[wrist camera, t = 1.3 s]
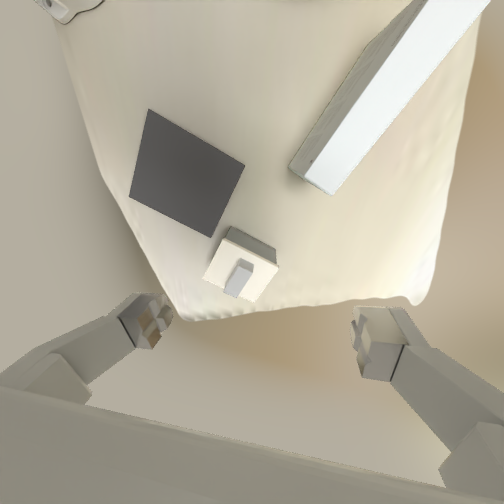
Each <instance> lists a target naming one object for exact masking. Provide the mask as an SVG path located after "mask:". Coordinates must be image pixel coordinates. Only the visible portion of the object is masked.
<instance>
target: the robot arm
mask: <svg viewBox="0 0 504 504" xmlns="http://www.w3.org/2000/svg"><path fill="white" fill-rule="evenodd" d="M34 1H35V2H37V3H38V4H39V5H40V6H41V7H42V8H43V9H45V10H46V11H47V12H48V13H49V14H50V15H51V16H53V17H54V18H55V19H56V20H58V21H59V22H60V23H62V24H66V23H68V22H69V21H70V20H71V19H72V18H73V17H74V15H75V14H76V13H78V12H81V11H85V10H89V9H92V8H94V7H96V6H97V5H98V4H99V3H100V2H101V1H102V0H34ZM51 3H52V6H51ZM167 303H168V299H167V297H166V295H163V294H155V293H140V292H135V293H132V294H131V295H130V296H129V297H128V298H126V299H125V300H124V301H123V302H122V303H121V304H120V305H118V306H117V307H116V308H115V309H114V310H112V311H111V312H110V313H109V314H108V315H107V316H102V317H100V318H98V319H96V320H94V321H92V322H89V323H88V324H85V325H83V326H81V327H79V328H77V329H74V330H72V331H70V332H68V333H66V334H64V335H62V336H59V337H57V338H55V339H53V340H51V341H49V342H46V343H44V344H42V345H40V346H38V347H36V348H34V349H32V350H31V351H29V352H28V353H27V354H25V355H24V356H23V357H21V358H20V359H19V360H17V361H16V362H15V363H14V364H12V365H11V366H9V367H8V368H7V369H6V370H4V371H3V372H2V373H0V504H504V393H503V392H502V391H500V390H499V389H497V388H496V387H494V386H493V385H491V384H490V383H488V382H486V381H485V380H484V379H482V378H481V377H479V376H478V375H476V374H475V373H473V372H471V371H470V370H469V369H467V368H466V367H464V366H463V365H461V364H460V363H458V362H457V361H455V360H454V359H452V358H451V357H449V356H447V355H446V354H445V353H443V352H442V351H440V350H439V349H437V348H431V347H430V345H429V344H428V343H427V341H426V340H425V338H424V337H423V335H422V334H421V332H420V331H419V329H418V328H417V326H416V325H415V324H414V322H413V321H412V319H411V318H410V316H409V315H408V313H407V312H406V311H405V309H403V308H400V307H375V306H355V307H354V310H353V315H354V318H355V320H353V321H352V322H351V327H350V335H351V341H352V345H353V348H354V349H355V350H356V351H357V352H358V355H357V363H358V365H359V369H360V373H361V376H362V378H367V379H373V380H380V381H386V382H391V383H390V384H391V385H392V386H393V387H394V388H395V389H396V391H397V392H398V393H399V394H400V395H401V396H402V397H403V398H404V400H405V401H406V402H407V403H408V404H409V405H410V406H411V407H412V409H413V410H414V411H415V412H416V413H417V414H418V415H419V416H420V417H421V419H422V420H423V421H424V422H425V423H426V424H427V425H428V426H429V428H430V429H431V430H432V431H433V432H434V433H435V434H436V435H437V436H438V438H439V439H440V440H441V441H442V442H443V443H444V444H445V446H446V447H447V448H448V449H449V450H450V451H451V452H452V453H451V454H450V455H449V456H448V457H447V459H446V460H445V461H444V462H443V463H442V465H441V466H440V468H439V469H438V470H439V472H440V475H441V477H442V479H443V481H444V484H445V486H446V488H444V487H440V486H435V485H431V484H426V483H422V482H417V481H413V480H409V479H405V478H400V477H396V476H391V475H387V474H383V473H378V472H374V471H370V470H366V469H361V468H357V467H353V466H348V465H344V464H339V463H335V462H331V461H326V460H322V459H318V458H314V457H309V456H305V455H300V454H296V453H291V452H287V451H283V450H279V449H275V448H270V447H266V446H261V445H257V444H253V443H248V442H243V441H240V440H235V439H231V438H226V437H222V436H218V435H214V434H209V433H205V432H201V431H196V430H192V429H187V428H183V427H179V426H174V425H170V424H166V423H162V422H157V421H153V420H149V419H144V418H140V417H135V416H131V415H127V414H123V413H118V412H114V411H110V410H105V409H101V408H97V407H92V406H88V405H84V404H85V403H86V402H87V401H88V400H89V398H90V397H91V396H92V391H91V390H90V389H89V387H88V386H87V385H88V384H89V383H90V382H92V381H93V380H94V379H96V378H97V377H98V376H100V375H101V374H102V373H104V372H105V371H106V370H108V369H109V368H111V367H112V366H113V365H115V364H116V363H117V362H119V361H120V360H121V359H123V358H124V357H125V356H127V355H128V354H129V353H131V352H132V351H133V350H135V348H143V349H153V348H154V346H155V345H156V344H157V342H158V341H159V339H160V338H161V337H162V334H161V333H162V331H164V330H166V329H167V328H168V327H169V325H170V324H171V321H172V318H173V312H172V309H171V308H170V307H169V306H168V305H167Z"/></svg>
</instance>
